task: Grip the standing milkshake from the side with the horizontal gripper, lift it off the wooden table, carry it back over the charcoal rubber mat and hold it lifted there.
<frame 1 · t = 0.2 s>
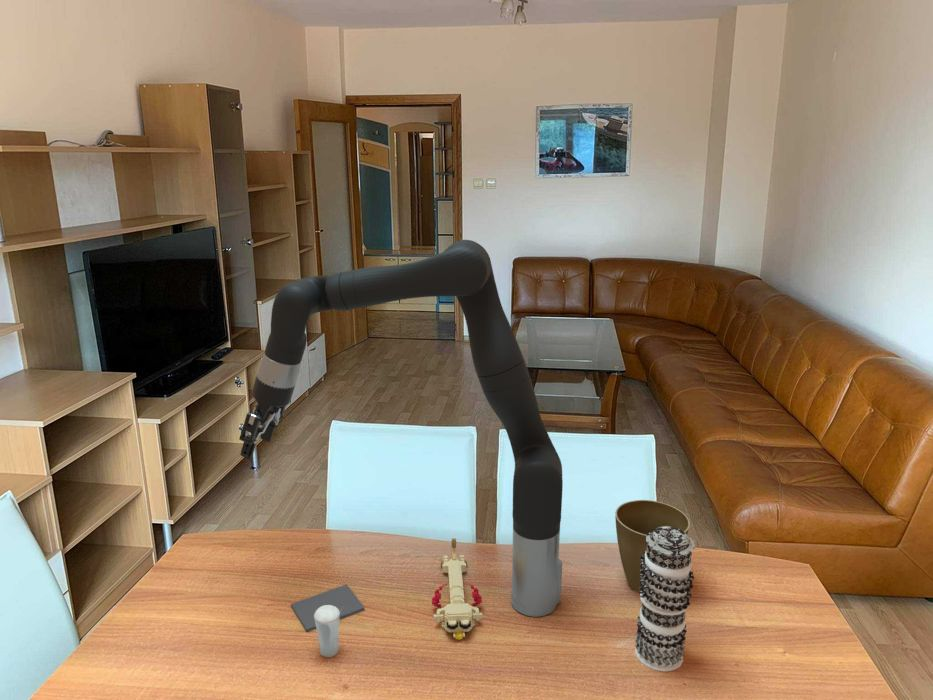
hand: (256, 448, 136), 31 cm above the table, tool tilted 20°, fingers open, 8 cm apart
charcoal mat: (327, 608, 136), on the table
plant pot: (646, 584, 144), on the table
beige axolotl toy: (456, 602, 139), on the table
milkshake: (331, 652, 125), on the table
decorative candle: (658, 655, 124), on the table
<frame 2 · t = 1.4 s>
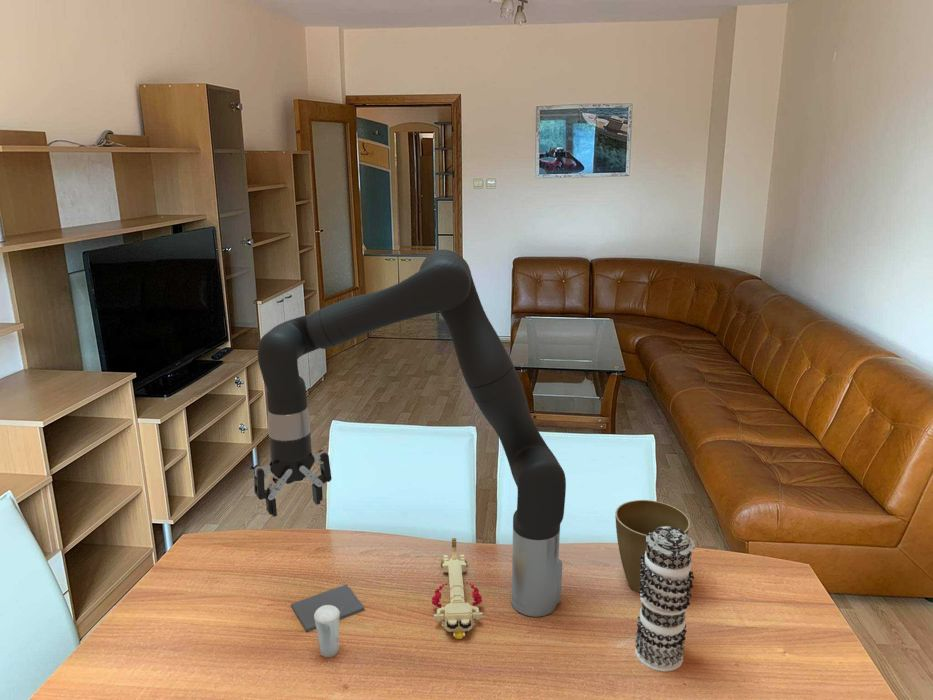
hand: (295, 508, 131), 22 cm above the table, tool pointing down, fingers open, 8 cm apart
nothing on the table moved.
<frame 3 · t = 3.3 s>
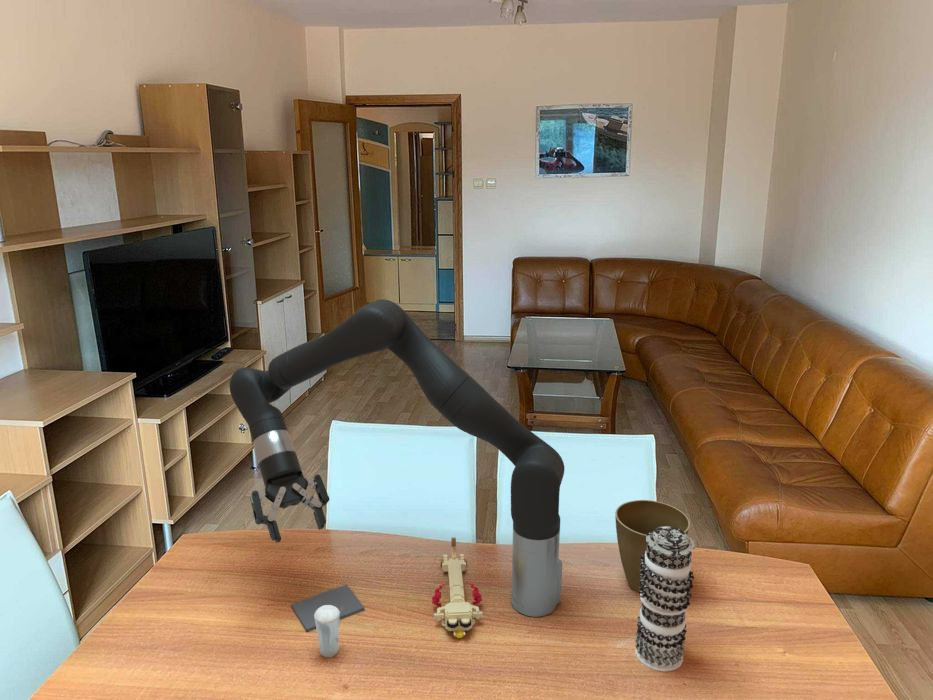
hand: (300, 534, 129), 18 cm above the table, tool tilted 45°, fingers open, 8 cm apart
nothing on the table moved.
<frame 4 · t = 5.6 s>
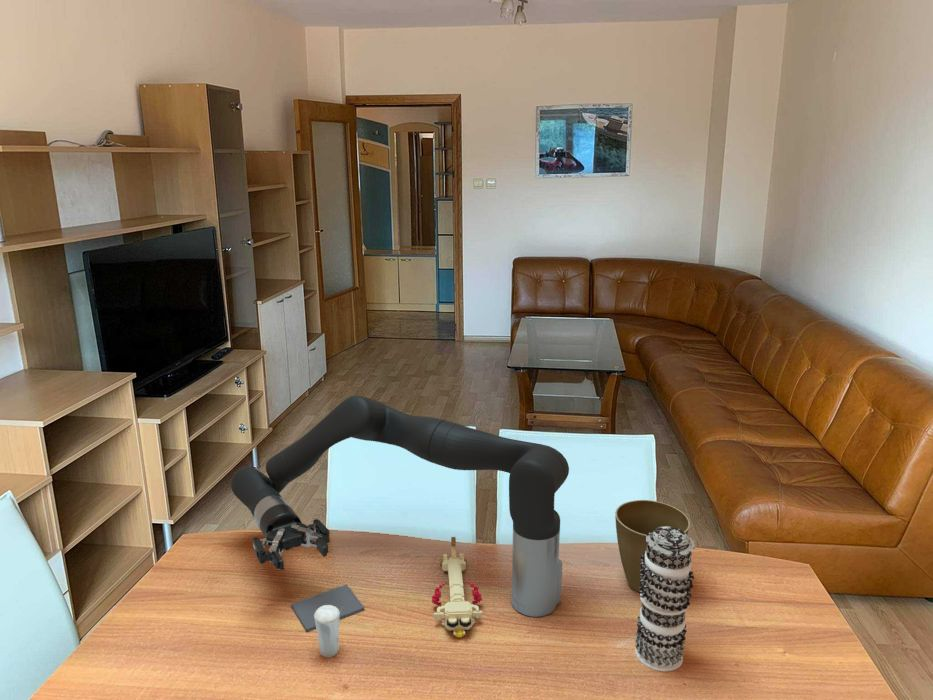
hand: (304, 559, 129), 13 cm above the table, tool horizontal, fingers open, 8 cm apart
nothing on the table moved.
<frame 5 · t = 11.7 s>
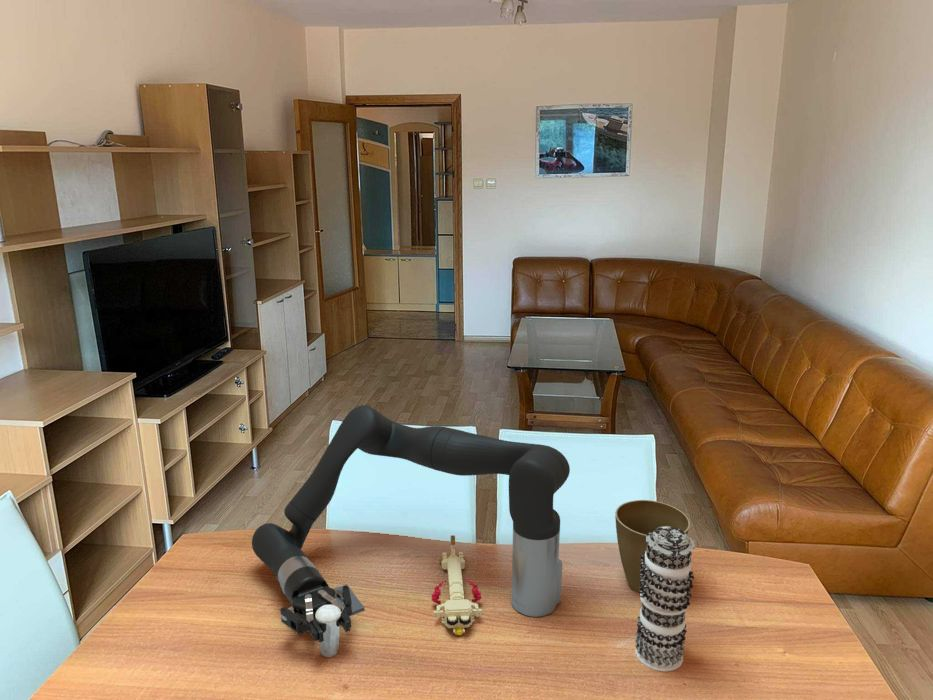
hand: (334, 632, 121), 6 cm above the table, tool horizontal, fingers closed on milkshake, 4 cm apart
milkshake: (331, 652, 125), on the table, touching gripper
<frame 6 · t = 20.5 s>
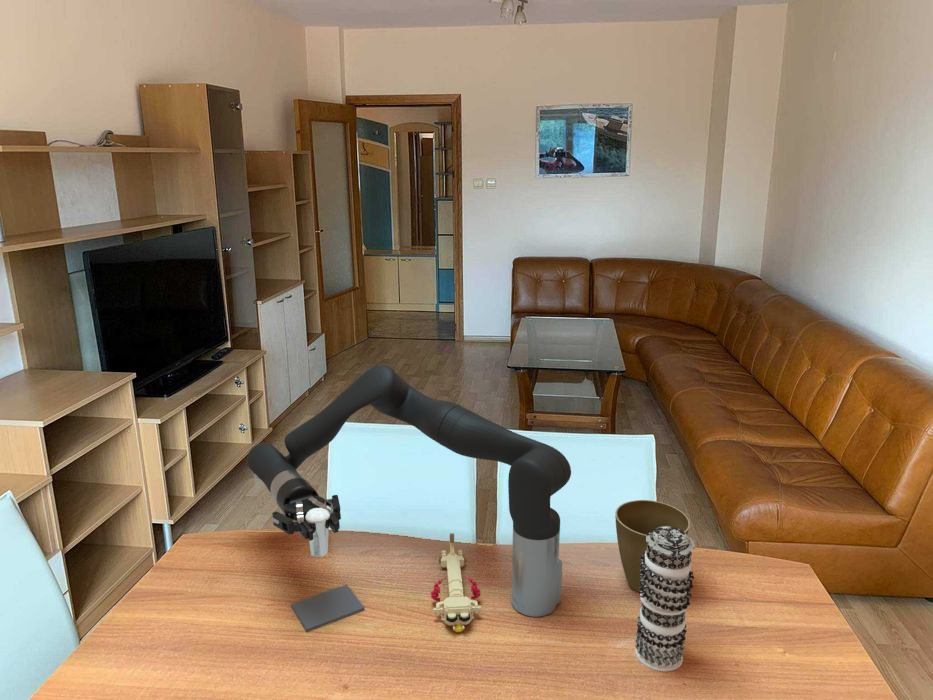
hand: (324, 531, 127), 20 cm above the table, tool horizontal, fingers closed on milkshake, 4 cm apart
milkshake: (321, 553, 131), point 13 cm above the table, touching gripper
at the end: the gripper is holding milkshake; milkshake point 13.4 cm above the table; milkshake inside the target area (0.1 cm from its centre), point 13.4 cm above the table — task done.
